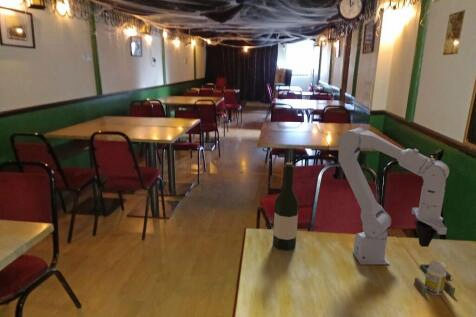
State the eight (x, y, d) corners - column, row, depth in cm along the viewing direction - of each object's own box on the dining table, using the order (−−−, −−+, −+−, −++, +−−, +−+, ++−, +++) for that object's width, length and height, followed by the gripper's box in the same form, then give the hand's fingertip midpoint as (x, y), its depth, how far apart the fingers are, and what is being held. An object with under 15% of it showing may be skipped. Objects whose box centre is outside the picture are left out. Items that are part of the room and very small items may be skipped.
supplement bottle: (438, 286, 99) (443, 260, 97) (446, 296, 95) (451, 269, 93) (421, 284, 100) (425, 259, 98) (428, 294, 95) (432, 268, 93)
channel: (423, 295, 95) (424, 288, 94) (413, 284, 100) (415, 277, 99) (453, 295, 95) (455, 288, 94) (442, 284, 100) (444, 277, 99)
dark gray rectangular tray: (430, 278, 103) (431, 275, 102) (419, 267, 109) (420, 264, 108) (450, 278, 103) (450, 275, 103) (438, 267, 109) (438, 264, 108)
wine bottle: (270, 239, 125) (274, 160, 117) (292, 238, 126) (297, 160, 118) (275, 251, 117) (279, 167, 109) (299, 250, 118) (305, 166, 110)
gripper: (460, 213, 92) (452, 258, 95) (430, 194, 106) (423, 234, 109) (435, 213, 92) (427, 258, 95) (407, 194, 106) (401, 234, 109)
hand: (423, 245), depth 102 cm, fingers closed
